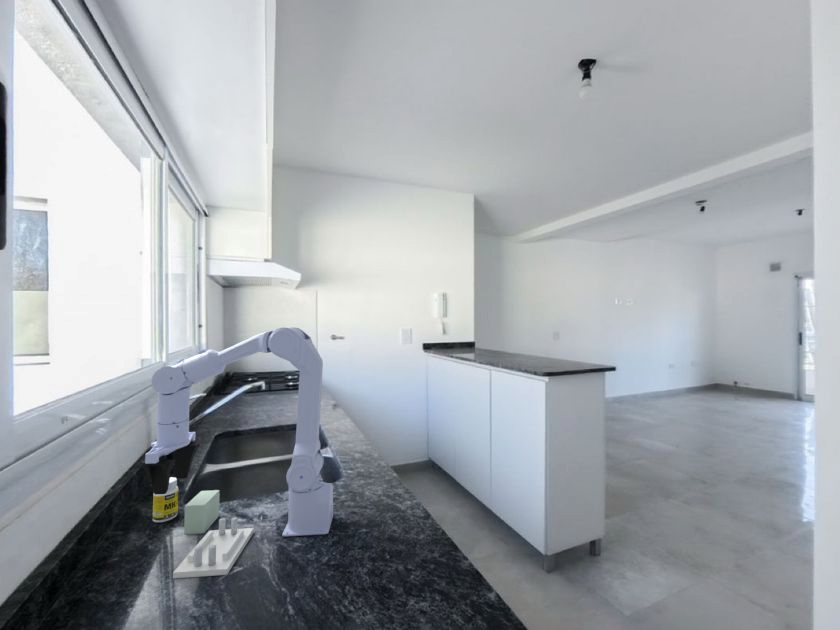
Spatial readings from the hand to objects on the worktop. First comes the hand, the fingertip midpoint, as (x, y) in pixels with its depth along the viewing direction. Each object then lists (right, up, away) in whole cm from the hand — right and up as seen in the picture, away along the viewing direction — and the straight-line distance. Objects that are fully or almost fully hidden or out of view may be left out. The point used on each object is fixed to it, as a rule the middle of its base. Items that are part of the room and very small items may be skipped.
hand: (171, 485), depth 76 cm
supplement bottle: (-6, -11, +6) cm, 13 cm away
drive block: (+5, -10, +3) cm, 12 cm away
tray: (+14, -10, -7) cm, 18 cm away
